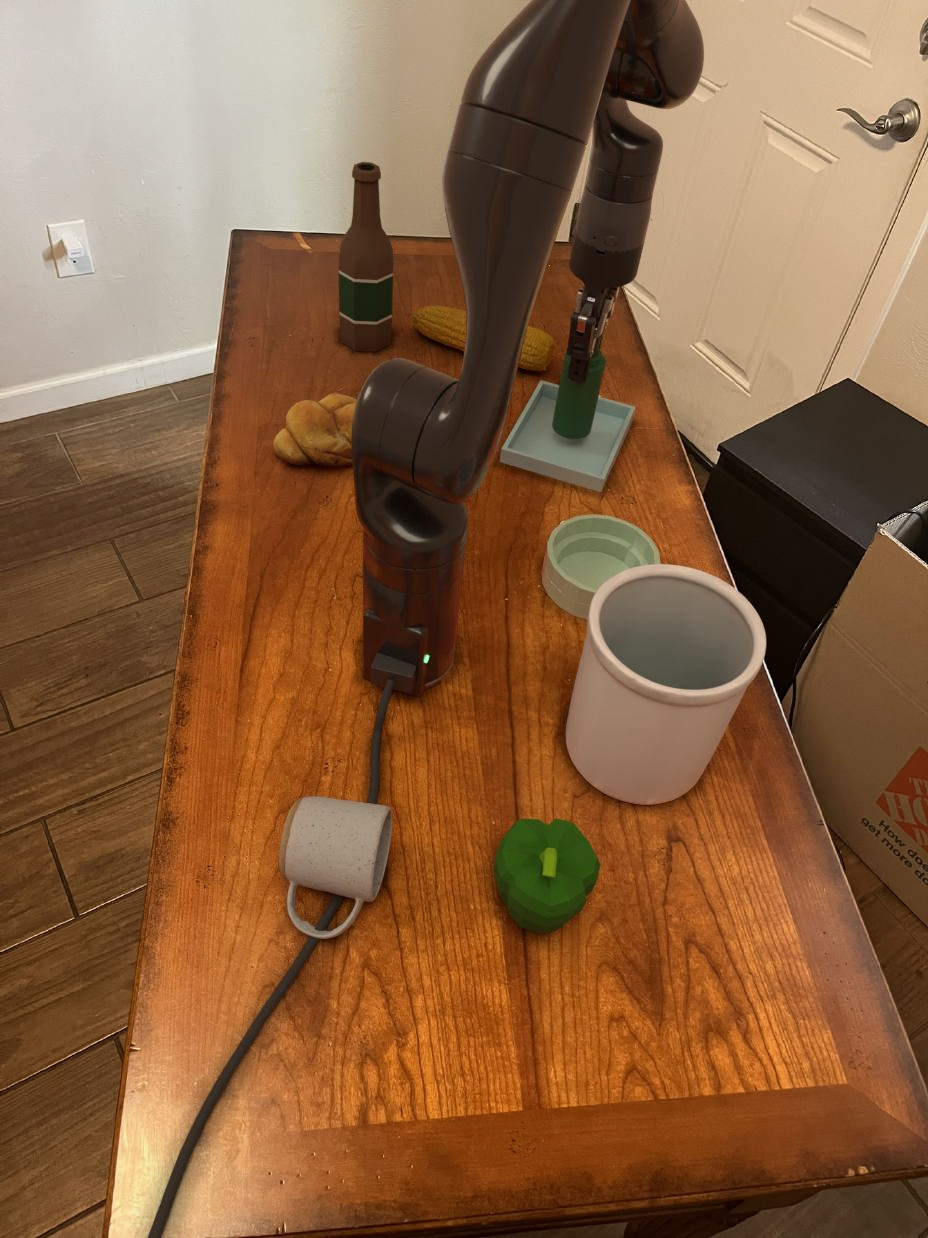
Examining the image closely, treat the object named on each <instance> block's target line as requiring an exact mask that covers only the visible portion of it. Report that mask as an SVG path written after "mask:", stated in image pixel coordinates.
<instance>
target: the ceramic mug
mask: <svg viewBox="0 0 928 1238" xmlns="http://www.w3.org/2000/svg"><path fill="white" fill-rule="evenodd" d="M282 829H283V830H282V833H281V837H280V843H279V848H278V849H279V852H278V869H279V872H280V874H281V876H282V877H283V879H285V880H287V881H288V883H289V887H288V891H287V895H286V896H287V899H286V906H287V907H286V908H287V913H288V916H289V919H290V921H291V922H292V924H293V925H294V927H295V928H296V929H297V930H298V931H299V932H301V933H302V934H305V935H307V936H309V937H310V936H311V937H314V938H319V940H326V939H327V940H328V939H332V938H336V937H339V936H340V935H342V934H343V933H344V932H346V931H348V929H350V927H351V926H352V925H353V923H354V922H355V921H356V919H357V917H358V915H359V913H360V911H361V909H362V906H363V903H364V902H368V903H372V902H374V901H375V899H376V898H377V896H378V894H379V892H380V890H381V885H382V882H383V879H384V875H385V871H386V867H387V864H388V858H389V852H390V847H391V840H392V835H393V834H392V833H393V811H392V808H391V807H390V806H388V805H386V804H378V803H377V804H370V803H367V802H362V801H355V800H347V799H339V798H334V797H329V796H320V795H319V796H318V795H315V796H314V795H313V796H311V795H310V796H303V797H300V798H298V799H296V800H295V802H294V803H293V804H292V805H291V807H290V808H289V811H288V813H287V815H286V818H285V821H284V825H283V828H282ZM298 886H300V887H304V888H308V889H313V890H317V891H323V892H327V893H331V894H333V895H334V894H337V895H340V896H344V897H346V898H350V899H353V900H355V904H354V906H353V909H352V910H351V912H350V913H349V915H348V917H346V920H344V921H343V922H342V924H340V925H339V926H337V927H336V928H333V930H327V929H325V930H324V931H318V930H315V927H316V926H314V925H313V924H311V923H310V922H309V921H308V920H302V919H301V918H300V917H299V916H298V912H297V911H296V894H297V889H298Z"/></svg>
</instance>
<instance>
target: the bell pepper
mask: <svg viewBox="0 0 928 1238" xmlns="http://www.w3.org/2000/svg"><path fill="white" fill-rule="evenodd" d="M600 869H601V863H600V861H599V858H598V856H597V855H596V852H595V851H594V848H593V847H592V845H591V843H590V841H589V840H588V838H587V837H586V836H585V835H584V834H583V833H582V831H581V830H580V829H579V828H578V827H577V825H576V824H575V823H574V822H572V821H569V820H564V819H560V818H555V819H554V820H553V821H550V823H549V824H547V823H545V822H544V821H542V820H540V819H538V818H520V819H518V820H515V822H514V823H513V824H512V825H511V827H510V828H508V830H507V831H506V833H505V834H504V835H503V837H501V839H500V840H499V845H498V847H497V851H496V853H495V857H494V861H493V868H492V871H493V876H494V881H495V885H496V887H497V892H498V894H499V896H500V897H499V898H500V899H501V902H502V904H503V905H505V906H506V907H507V909H508V914H509V916H510V918H511V919H512V920H513V921H514V922H515V923H516V924H517V925H518V926H519V928H521V929H524V930H525V931H529V932H532V933H535V934H538V935H540V934H542V935H543V934H547V933H555V932H556V931H559V930H560V929H561V928H562V927H564V926H565V925H566V924H567V923H569V921H570V920H572V919H573V918H574V917H576V916H577V915H578V914H579V913H580V912H582V911H583V909H584V907H585V905H586V903H587V900H588V899H587V897H588V895H590V894H591V893H592V892H593V891H594V888H595V887H596V884H597V882H598V878H599V875H600V874H599V873H600Z"/></svg>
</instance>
